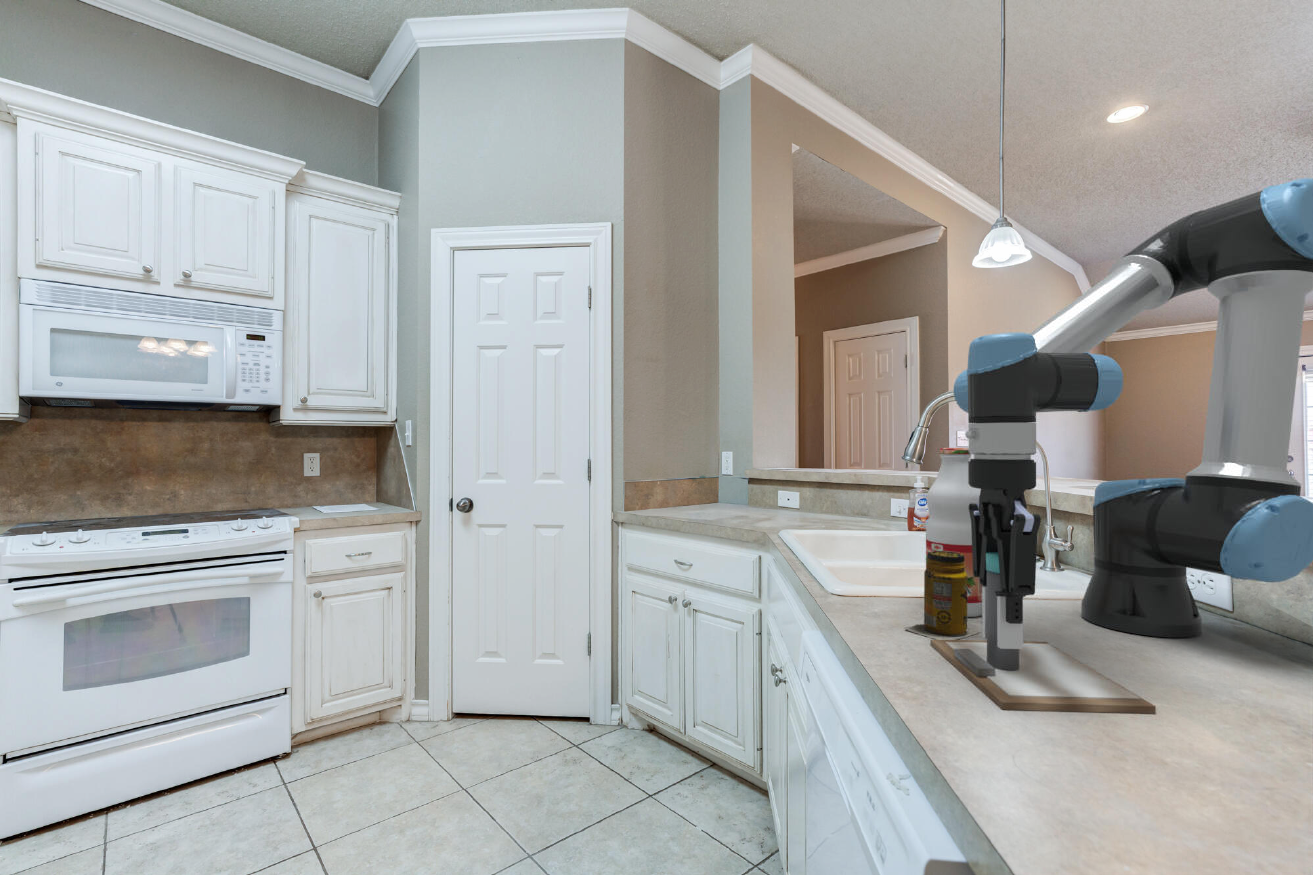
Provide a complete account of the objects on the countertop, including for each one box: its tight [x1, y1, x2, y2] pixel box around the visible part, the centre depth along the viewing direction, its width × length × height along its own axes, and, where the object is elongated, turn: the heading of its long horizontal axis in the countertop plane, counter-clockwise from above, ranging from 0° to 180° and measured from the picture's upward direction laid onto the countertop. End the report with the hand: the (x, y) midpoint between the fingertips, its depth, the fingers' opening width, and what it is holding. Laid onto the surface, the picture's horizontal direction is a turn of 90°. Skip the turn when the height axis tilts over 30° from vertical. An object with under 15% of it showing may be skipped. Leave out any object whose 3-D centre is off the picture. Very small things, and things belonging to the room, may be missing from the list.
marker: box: [986, 552, 1019, 671], centre depth 78 cm, size 4×4×14 cm
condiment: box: [903, 551, 980, 640], centre depth 95 cm, size 7×8×12 cm
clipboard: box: [930, 639, 1157, 715], centre depth 78 cm, size 16×21×2 cm
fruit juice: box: [925, 447, 983, 618], centre depth 106 cm, size 9×9×28 cm
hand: (1002, 642), depth 78 cm, fingers closed on marker, 3 cm apart
